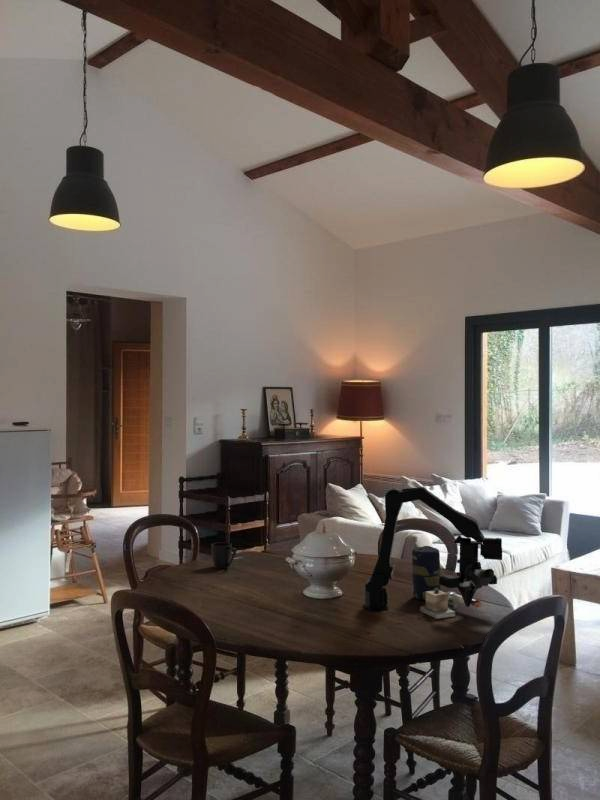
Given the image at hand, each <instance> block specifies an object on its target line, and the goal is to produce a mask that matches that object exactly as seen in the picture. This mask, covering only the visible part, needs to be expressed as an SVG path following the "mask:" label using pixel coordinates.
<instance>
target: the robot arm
mask: <svg viewBox="0 0 600 800" xmlns="http://www.w3.org/2000/svg"><path fill="white" fill-rule="evenodd" d="M415 501H421V502H422V503H423V504H425V505H426V506H428V507H429V508H430V509H432V510H434V511H435V512H436V513H438V514H439V515H441V516H442V517H443V518H444V519H445V520H447V521H449V522H450V523H451V524H452V525H453V526H454V528H455V529H456V531H458V532H459V533H460V534H458V535H457V537H456V538H454V539H453V543H454V544H459V558H458V559H456V563H457V564H459V566H458V567H459V568H458V569H459V570H458V571H456V576H457V577H456V576H455V575H452V574H444V575H443V574H442V575H441V574H440V578H439V584H440V586H443V587H445V588H448V589H456V588H457V589H458V591H459V593H460V595H461V596H462V598H463V600H464V603H465V604H464V603H463V604H464V605H465V606H466V607H467V608H469V607H470V606H471V605H470V603H471V601H472V599H474V598H473V597H474V596H475V594H476V592H477V591H478V590H479V589H481V588H482V587H488V586H490V585H497V584H498V577H497V576H496V574H495V570H493V569H492V568H486V569H485V568H483V569H482V564H481V562H480V561H479V554H480V556H481V557H483V559H484V560H494V561H503V547H502V546H503V545H502V544H503V541H502V540H503V539H502V538H501V537H485V535H484V533H482V531H481V530H480V527H479V521H478V520H477V519H476V518H474V517H473V516H470V515H468V514H466V513H463V512H461V511H459V510H456V509H455V508H453V507H452V506H451V505H449V504H448V503H447V502H445V501H444V500H443V499H441V498H439V497H438V496H436V495H435V494H434V493H432V492H430V491H429V490H428V489H427V488H426V487H424V486H417V487H409V488H407V487H406V488H402V489H401V488H400V487H392V488H391V489H389V490H388V491H387V492H386V493H385V496H384V509H385V518H384V526H383V532H382V536H381V544H380V549H379V555H378V558H377V561H376V563H375V565H374V569H373V572H372V575H371V577H369V578H368V580H367V582H366V583H365V585H364V587H365V588H364V590H365V591H364V594H365V595H364V599H365V600H364V603H363V604H362V606H363V607H364V608H366V609H368V610H369V611H371V612H373V611H381V610H382V611H383V610H389V609H390V608H389V607H390V606H388V593H387V589H386V586H387V585H388V584H389V582H390V581H391V580H393V577H394V576H395V575H394V574H395V573H394V570H395V567H396V563H395V562H394V563H392V552H393V548H394V542H395V536H396V535H395V534H396V529H397V524H398V523H397V522H398V517H399V514H400V511H401V510H402V507H403V504H405V503H410V502H415ZM479 546H480V551H479ZM479 552H480V553H479Z"/></svg>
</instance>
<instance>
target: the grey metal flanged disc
mask: <svg viewBox="0 0 600 800" xmlns="http://www.w3.org/2000/svg"><path fill="white" fill-rule="evenodd" d="M455 602H456V601H454V600H448V609H450V610H457V609H458V605H457V604H455Z"/></svg>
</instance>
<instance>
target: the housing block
mask: <svg viewBox="0 0 600 800" xmlns="http://www.w3.org/2000/svg"><path fill="white" fill-rule="evenodd" d="M425 606H426V607H427V608H429V609H431V610H433V611H440V610H448V594H447V593H446V592H444V591H442V590H441V591H440V590H439V589H438V588H435V589H434V591H426V600H425Z"/></svg>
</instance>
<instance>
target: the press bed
mask: <svg viewBox="0 0 600 800" xmlns="http://www.w3.org/2000/svg"><path fill="white" fill-rule="evenodd" d="M420 612H422V613H423V614H426V615H427V616H429V617H432V618H434V619H435V620H438V619H439V620H440V619H446V618H453V617H456V611H455V610H454V609H448V610H440V611H433V610H431V609H429V608H427V607H426V605H422V606H420Z"/></svg>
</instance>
